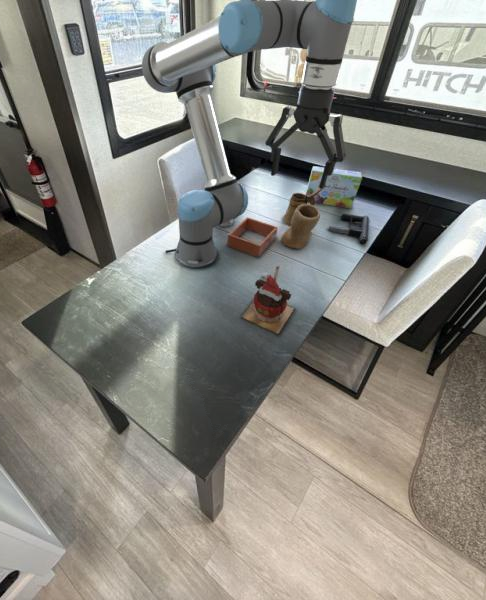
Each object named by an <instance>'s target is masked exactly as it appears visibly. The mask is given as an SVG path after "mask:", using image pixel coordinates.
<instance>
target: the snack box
mask: <svg viewBox="0 0 486 600" xmlns="http://www.w3.org/2000/svg"><path fill="white" fill-rule="evenodd" d="M324 168H325V167H323V166H316V165H313V166H312V168H311V172H310V176H309V179H308V180H309V181H308V184H307V188H306V192H305V195H306V196H311V195H312V194H313V192H315V191H316V190H317V189H318V188H319V186H320V182H321V179H322V175H323V171H324ZM362 180H363V173H362V172H361V171H351V170H344V169H336V168H334V171H333V173H332V174H331V175H330V176H329V175H328V177H327V180H326V184H325V185H326V187H325V188H324V189H323V190H322V191H321V192H319V193H318V194H317V195H316V196H314V198H315V204H319V205H327V206H332V207H337V208H345V209H351V208H352V207H353V204H354V202H355V199H356V196H357V193H358V190H359V188H360V185H361V183H362Z"/></svg>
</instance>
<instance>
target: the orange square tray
mask: <svg viewBox="0 0 486 600" xmlns="http://www.w3.org/2000/svg"><path fill="white" fill-rule="evenodd" d="M278 228H279V227H278V226H275V225H273V224H270V223H266V222H263V221H261V220H257V219H253V218H251V217H248V216H246V217H245V218H244V219H243V220H242V221H241V222H240V223H239V224H238V225H237V226H235V228H233V229H232V230H231V231H230V232H229V233H228V234H227V244H226V246H227V247H230V248H233V249H235V250H238V251H240V252H243V253H246V254H248V255H251V256H254V257H256V258H260V256H261V255H263V254H264V252H265V251H266V250H267V248H268V247H269V246H270V245H271V244H272V243H273V242H274V240H276V238H277V234H278ZM247 230H248V231H251V232H254V233H256V234H260V235H263V236H264V237H265V236H266V237H265V238H264V239H263V240H262V241H261V242H260V243H256V242H254V241H250V240H248V239H245V238H243V237H241V235H242V234H244V232H246V231H247Z"/></svg>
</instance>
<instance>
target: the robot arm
mask: <svg viewBox="0 0 486 600" xmlns="http://www.w3.org/2000/svg"><path fill="white" fill-rule="evenodd" d="M357 2H358V0H315V1H314V0H312V1H307V0H235V1H230V2H229V3H227V4H226V5H225V6H224V8H223V11H222V12H221V13H220V15H219V16H218V17H215V18H214V19H212V20H209V21H208V22H205V23H204V24H202V25H200V26H199V27H196V28H195V29H192V30H190V31H189V32H187V33H185V34H183V35H181V36H180V37H177V38H176V39H174V40H172V41H170V42H166V41H161V42H157V43H156V44H153V45H152V46H150V47H149V48H147V50H146V51H145V52H144V55H143V57H142V61H141V71H142V76H143V77H144V80H145V82H146V83H147V84H148V86H149V87H150V88H152V89H153V90H155V91H156V92H158V93H162V94H171V93H175V94H176V97H177V100H178V102H179V103H181V104H182V105H184V108H185V110H186V114H187V119H188V121H189V125H190V129H191V132H192V135H193V138H194V142H195V146H196V149H197V153H198V156H199V159H200V163H201V166H202V170H203V172H204V177H205V180H206V181H205V185H204V186H203V187H204V188H203V189H198V190H196V189H193V190H189V191H187V192H186V193H184V194H183V195H182V196H180V198H179V200H178V203H177V216H178V231H179V239H178V243H177V245H176V248H172V249H166V250H165V254H169V253H174V252H175V258H176V261H177V262H178V263H179V264H180V265H182V266H183V267H185V268H190V269H203V268H206V267H209V266H211V265H212V264H214V263H215V262H216V260H217V258H218V251H217V247H216V245H215V244H216V243H215V242H214V239H213V234H214V233H213V232H214V228H216V227H218V226H220V225H221V224H223V223H225V222H227V221H230V220H232V219H233V220H235V219H237V218H238V217H240V216H242V215H243V214H244V213H245V212H246V210H247V208H248V205H249V194H248V191H247V189H246V187H245V186H244V185H243V184H242V183H241V182H238V180H237V177H236V176H235V175H233V174H232V173H231V170H230V167H229V163H228V159H227V155H226V151H225V146H224V143H223V139H222V136H221V135H222V134H221V131H220V128H219V124H218V120H217V115H216V112H215V108H214V105H213V101H212V96H211V95H212V92H213V90H214V86H213V84H214V81H215V80H216V72H217V64H219V63H222V62H225V61H228V60H230V59H233V58H235V57H239V56H242V55H245V54H248V53H250V52H251V53H252V52H255V51H262V50H273V49H281V48H294V49H302V50H306V55H305V60H304V61H305V62H304V68H303V72H302V78H301V83H302V85H301V86H300V87H299V93H298V98H297V102H296V104H297V105H296V108H293V107H292V106H291V105H290V104H289V105H287V106H285V107H283V108H282V111H281V116H280V118H279V120H278V121H277V123H276V124H275V126H274V128H273V129H272V131H271V132H270V134H269V136H268V137H267V139H266V141H265V142H264V143H265V146H267V147H270V148H271V149H270V150H271V151H270V158H269V159H270V162H272V166H271V171H270V176H272V177H274V176H275V175H277V174H278V171H279V166H280V159H281V153H282V147H280V146H281V145H282V144H283V143H284V142H285V141H287V139H289V138H290V137H291V136H292V135H293V134H294V133H295V132H296V131H298V130H299V132H300V133H308V134H310V135H314V134H316V136H317V138H318V139H319V141H320V144H321V145H322V147H323V150H324V152H325V154H326V156H327V158H328V160H327V161H325V166H324V167H323V168H324V171H323V175H322V179H321V182H320V186H319V188H321V189H322V188H323V187H324V186H325V184H326V180H327V177H328V175H329V176H330V175H331V174H332V173H333V171H334V169H335V167H336V164H337V163H341V162H343V161H344V160H345V159H346V158H347V153H346V146H345V141H344V140H345V139H344V134H343V127H342V126H343V125H342V124H343V118H344V115H343V114H342V113H339V114H337V115H336V114H331V108H332V104H333V100H334V96H335V92H336V90H335V86H336V85H337V84H338V80H339V76H340V72H341V69H342V63H343V59H344V54H345V51H346V48H347V45H348V44H347V43H348V39H349V37H350V32H351V29H352V25H353V23H354V20H355V18H354V17H355V13H356V8H357ZM292 116H293V118H294V120H295V123H294V124H293V125H292V126H290V127H289V129H288V130H287V131H285V133H283V134H282V136H281V137H279V138H278V139H277V137H278V136H279V134H280V132H281V131H282V130H283V128H284V126H285V124H286V123H287V122H288V120H289V118H291V117H292ZM329 122H330V126H331V127H332V134H333V138H334V145H335V146H334V145H333V143H332V140H331V138H330V136H329V133H328V129H327V127H326V125H327V123H329ZM276 139H277V140H276ZM275 140H276V141H275Z"/></svg>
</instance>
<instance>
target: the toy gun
mask: <svg viewBox="0 0 486 600" xmlns="http://www.w3.org/2000/svg"><path fill="white" fill-rule="evenodd" d="M340 220H341V221H346V222H349V226H348V227H343V226H336V225H329V227H328V232H334V233H341V234H346V235H347V236H348V237H353V238H358V241H359V244H360V245H366V244H367V243H368V241H369V240H368V239H369V225H370V224H371V220H370V217H369V216H368V215H357V214H356V215H355V214H349V213H342V214H341V215H340ZM352 223H353V225H360V227H358V226H352Z"/></svg>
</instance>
